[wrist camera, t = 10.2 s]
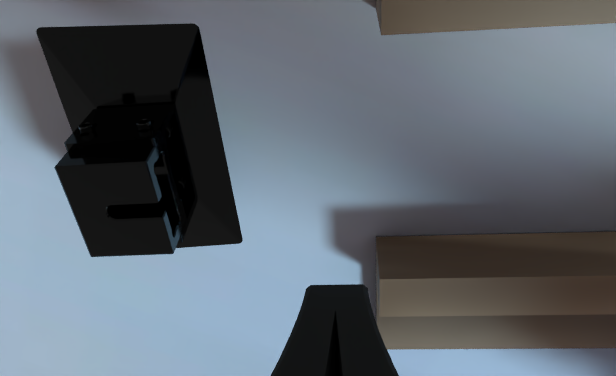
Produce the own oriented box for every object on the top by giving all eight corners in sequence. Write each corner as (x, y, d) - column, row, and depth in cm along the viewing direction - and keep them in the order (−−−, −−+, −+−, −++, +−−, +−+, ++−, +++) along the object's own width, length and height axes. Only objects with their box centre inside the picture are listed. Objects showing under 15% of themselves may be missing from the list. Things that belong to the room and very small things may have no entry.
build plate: (267, 258, 24) (254, 342, 20) (109, 264, 25) (67, 346, 21) (216, -35, 17) (182, 7, 13) (-2, -17, 18) (-95, 28, 14)
